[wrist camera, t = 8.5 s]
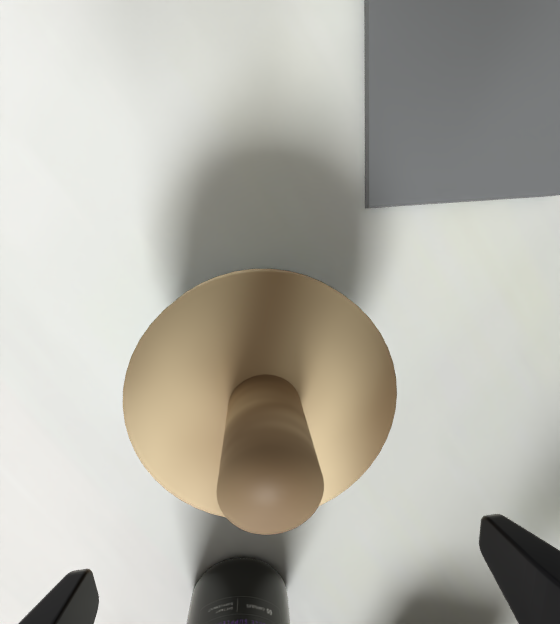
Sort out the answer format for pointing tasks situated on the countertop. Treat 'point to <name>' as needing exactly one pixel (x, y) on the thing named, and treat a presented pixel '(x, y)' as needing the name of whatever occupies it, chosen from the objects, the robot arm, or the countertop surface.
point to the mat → (461, 100)
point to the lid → (259, 397)
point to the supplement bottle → (239, 595)
